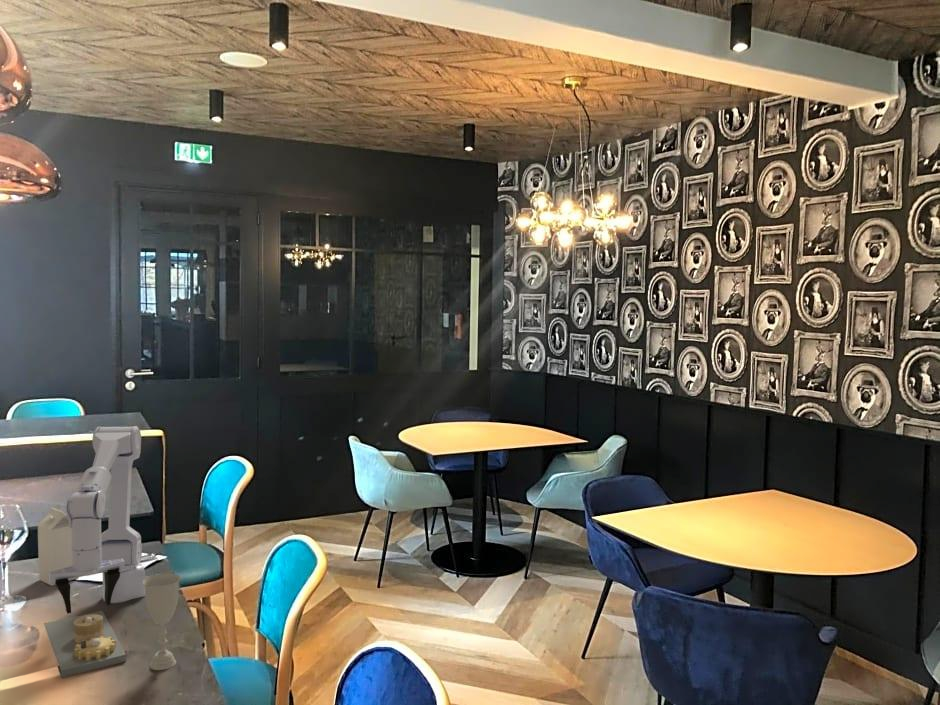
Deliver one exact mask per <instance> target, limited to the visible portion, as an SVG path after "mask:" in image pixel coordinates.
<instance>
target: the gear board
mask: <svg viewBox="0 0 940 705" xmlns="http://www.w3.org/2000/svg"><path fill="white" fill-rule="evenodd" d="M86 615H101V616H102V617H103V636H100V638H94V637H93V638H90V640H87V641H85V640H83V641H81V644H78V643H75V641H74V625H73V622H74V621H75V620H76V619H77V618H80V617H82V616H86ZM88 622H92V618H91V617H87V618H86V619H85V623H88ZM44 628H45V629H46V632H47V635H48V638H49V640H50V643H51V646H52V649H53V652H54V654H55V658H56V660H57V663H58V665H57V669H58V672H59V676H60V678H63V679H64V678H67V677H70V676H75V675H78V674H82V673H86V672H90V671H93V670H98V669H101V668H106V667H110V666H112V665H117V664H122V663H125V662H127V654H126V651H125V650H124V648H123V646H122V644H121V642H120V641H119V639H118V637H117V635H116V634H115V632H114V629H113V627H112V626H111V625H110V623H109V621H108V618H107V617H106V615H105V613H104V612H103V610H99V611H95V612H94V611H93V612H91V613H86V614H85V613H84V614H81V615H77V616H70V617H68V618H63V619H58V620H53V621H49V622H48V621H47V622H44Z"/></svg>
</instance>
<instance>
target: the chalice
mask: <svg viewBox="0 0 940 705" xmlns="http://www.w3.org/2000/svg"><path fill="white" fill-rule="evenodd" d="M181 577H182V576H181V575H180V574H175V573H161V574H160V573H159V574H155V575H152V576H149V577H145V580H143V584H144V586H145V589H146V596H145V607H146V609H147V612H148V614H149V615H150V617H151V619H152V621H153V622H154V623H155V624H156V625H159V628H160V629H159V631H158V635H159V640H158V642H157V643H158V644H159V647H160V649H159V650H158V651H157V652H156V653H155V654H154V655H153V658H152V659H151V663H150V665H149V668H150V669H151V670H154V671H164V670H168V669H171V668H172V667H175V665H176V664H177V660H176V659H175V656H174V655H173V653H172V651H170V650H168V649H167V648H166V645H167V642H168V639H167V638H166V635H167V633H168V631H166V624H168V623H170V621H171V619H172V617H174V616H173V615H174V613H175V612H176V609H177V605H178V602H179V583H180V581H181Z"/></svg>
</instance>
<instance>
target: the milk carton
mask: <svg viewBox="0 0 940 705" xmlns="http://www.w3.org/2000/svg"><path fill="white" fill-rule="evenodd" d="M37 545H38V546H37V549H38V554H37V555H38V580H39V581H41V582H42V583H44V584H47V585H49V586H50V587H51V586H52V587H54V586H56V584H55V583H51V584H50V582H49V572H52V571H56V570H60V569H63V568H66V567H70V566H72V532H71V528H69V521H68V518H67V516H65V511H62V510H60V509H56V508H54V507H52V506H51V507H50V511H49V512H48V514H46V516H45V517H44V518H42V520H41V521H40V522H39V523H38V524H37ZM79 578H80V577H77V578H71V579H68V580H69V582H70V581H73V580H76V579H79Z"/></svg>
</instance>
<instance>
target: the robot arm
mask: <svg viewBox="0 0 940 705" xmlns="http://www.w3.org/2000/svg"><path fill="white" fill-rule="evenodd" d="M91 441H92V447H93V450H94V453H95V455H94V459H93V463H92V466H91V467H89V468H87V469H86V470H85V471H84V473H83V474H82V477H81V480H80V481H79V482H80V483H79V484H78V487H77V489H76V491H75V492H73V493H72V494H69V495H68V497H67V501H66V505H65V506H66V507H65V513H66V517H67V518H68V521H69V528H71V532H72V566H70V567H66V568H63V569H60V570H56V571H52V572H49V582H50V584H51V583H55V584H56V585H55V586H56V588H57V590H58V591H59V593H60V594H61V597H62V598H63V602H64V606H65V611H66V614H71V613H72V603H71V584H70V581H69V580H68V579H71V578H77V577H79V578H82V577H89V576H94V575H98V574H102V601H103V602H104V603H105V604H106V606H110V605H111V604H118V603H124V602H128V601H130V600H134V599H138V598H142V597H146V589H145V586H144V584H143V580H145V579H146V571H145V567H144V565H143V563H141V560H142V553H143V545H142V536H141V534H140V533H139V532H138V531H136V530H135V529H134V528H132V527H131V526H130V519H131V517H130V516H131V496H132V495H131V493H132V492H131V491H132V470H133V463H134V461H135V460H137V459H139V458H140V455H141V452H142V451H141V447H142V446H141V445H142V432H141V430H140V428H139V427H138V426H137V425H134V426H97V427H96V428H95V429H94V431H93V434H92V440H91ZM109 486H110V487H109ZM108 488H109V504H108V505H109V506H108V526H107V527H108V528H107V529H106V530H104V531H103V532H102V517H103V516H104V513H105V507H106V501H107V496H106V493H107V492H108V491H107V490H108ZM77 579H78V578H77Z"/></svg>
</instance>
